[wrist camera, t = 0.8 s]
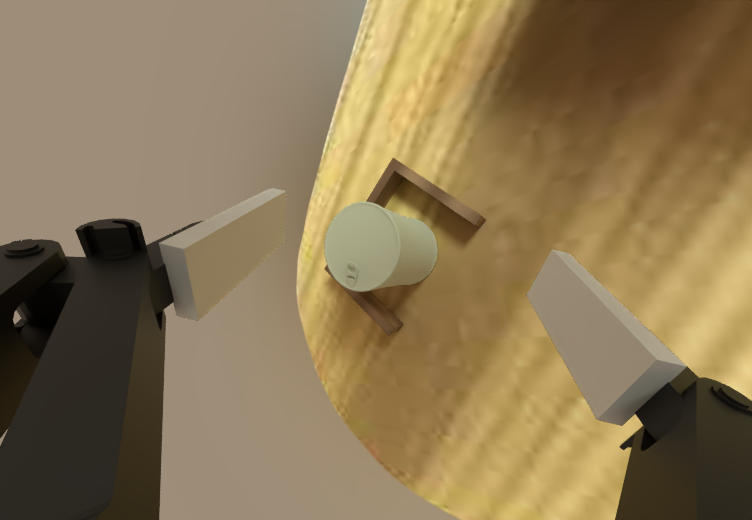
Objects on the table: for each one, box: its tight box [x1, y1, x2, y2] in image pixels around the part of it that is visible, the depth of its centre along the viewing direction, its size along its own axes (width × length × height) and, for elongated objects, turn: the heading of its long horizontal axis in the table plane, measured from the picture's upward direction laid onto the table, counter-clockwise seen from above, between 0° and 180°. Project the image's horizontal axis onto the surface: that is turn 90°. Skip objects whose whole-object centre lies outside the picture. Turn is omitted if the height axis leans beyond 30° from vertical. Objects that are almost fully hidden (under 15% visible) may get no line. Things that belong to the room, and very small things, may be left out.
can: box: [325, 202, 438, 292], centre depth 32 cm, size 9×9×12 cm
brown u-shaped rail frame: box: [325, 158, 485, 335], centre depth 36 cm, size 14×18×3 cm
